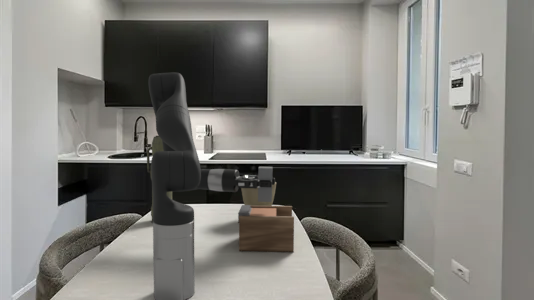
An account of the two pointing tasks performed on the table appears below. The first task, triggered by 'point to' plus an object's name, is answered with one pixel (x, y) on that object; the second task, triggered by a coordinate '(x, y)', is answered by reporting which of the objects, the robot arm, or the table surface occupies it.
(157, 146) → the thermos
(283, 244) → the walnut frame
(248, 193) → the plant pot
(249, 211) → the trapdoor
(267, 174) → the basalt block
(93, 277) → the table surface
